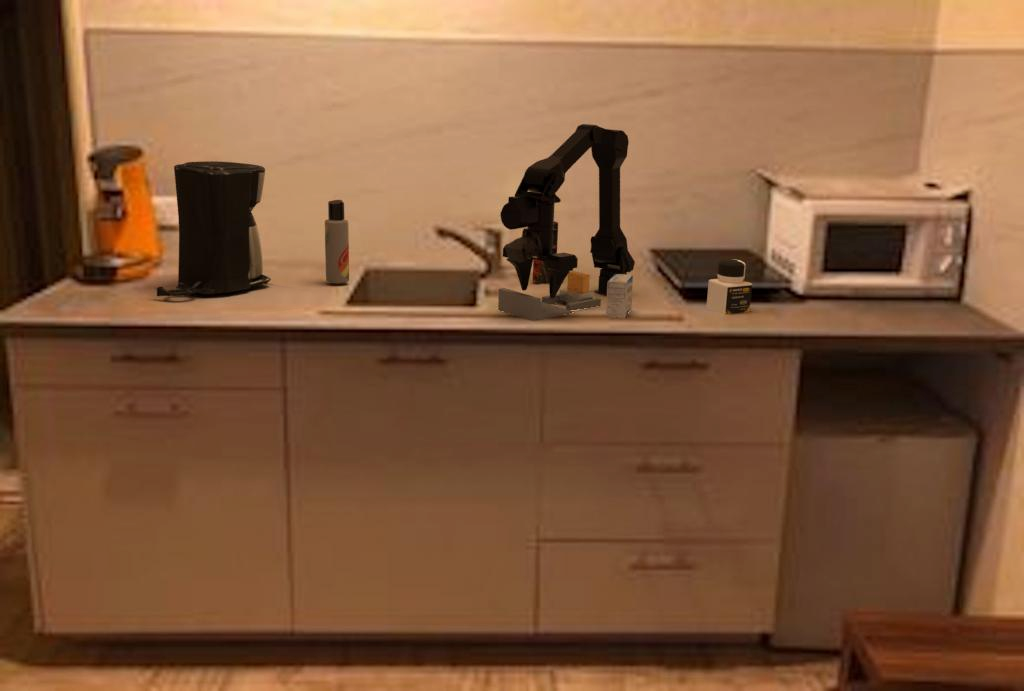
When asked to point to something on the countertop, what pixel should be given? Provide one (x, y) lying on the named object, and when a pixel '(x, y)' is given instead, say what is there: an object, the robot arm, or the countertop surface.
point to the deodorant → (543, 264)
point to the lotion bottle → (336, 244)
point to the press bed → (538, 305)
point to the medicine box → (619, 295)
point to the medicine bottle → (729, 289)
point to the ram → (576, 288)
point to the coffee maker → (218, 227)
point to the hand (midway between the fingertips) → (538, 294)
